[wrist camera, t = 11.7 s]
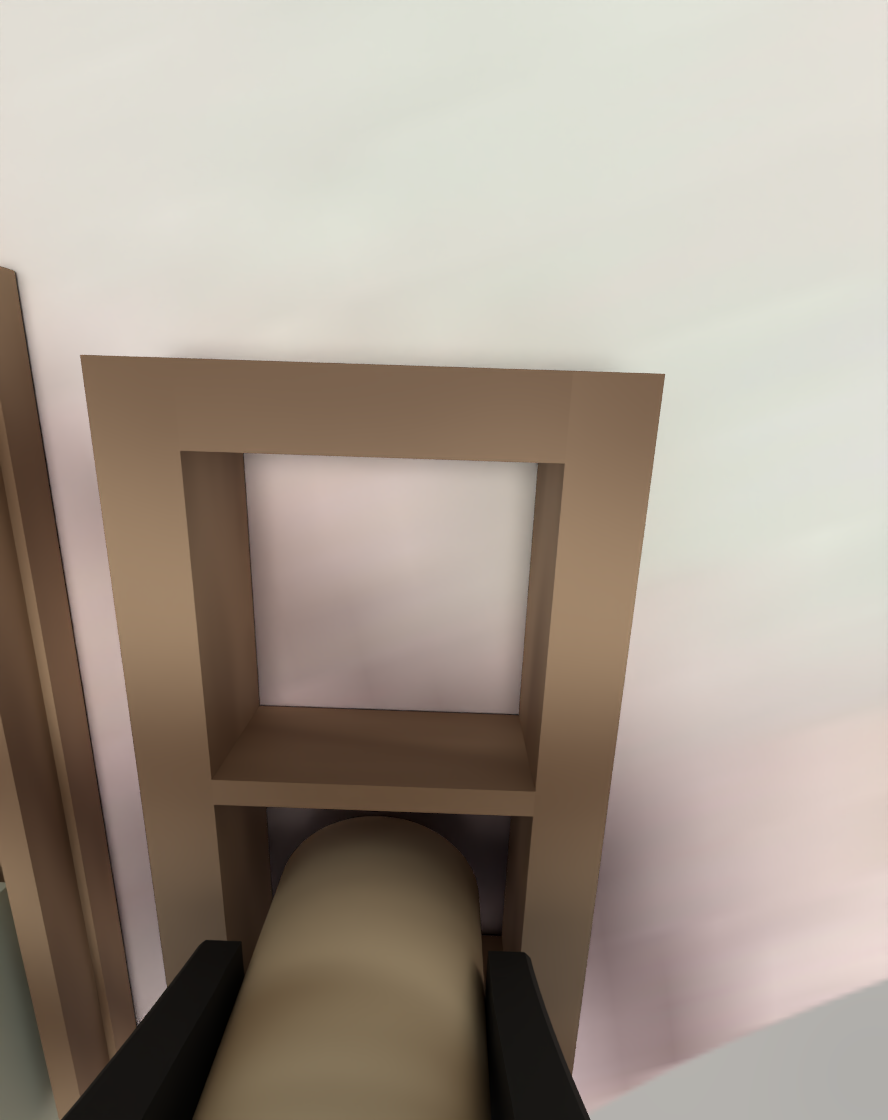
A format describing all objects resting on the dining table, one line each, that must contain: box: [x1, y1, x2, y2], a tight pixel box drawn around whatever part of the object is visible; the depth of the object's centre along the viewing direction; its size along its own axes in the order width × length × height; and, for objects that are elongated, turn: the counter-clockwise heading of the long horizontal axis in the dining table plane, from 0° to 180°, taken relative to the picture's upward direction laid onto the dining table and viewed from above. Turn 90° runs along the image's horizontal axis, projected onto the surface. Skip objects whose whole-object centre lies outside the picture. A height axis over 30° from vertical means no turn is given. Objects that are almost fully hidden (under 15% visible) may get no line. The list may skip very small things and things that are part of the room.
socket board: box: [80, 355, 665, 1075], centre depth 10 cm, size 14×8×2 cm, turn 178°
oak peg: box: [192, 816, 491, 1120], centre depth 8 cm, size 4×4×6 cm
